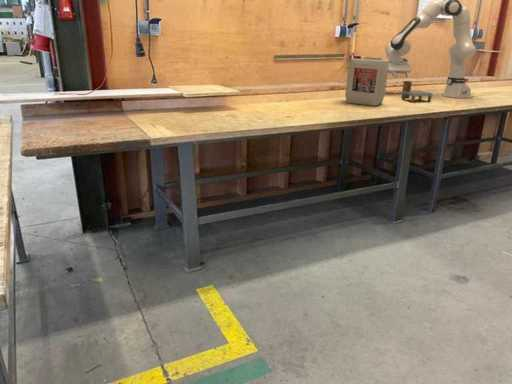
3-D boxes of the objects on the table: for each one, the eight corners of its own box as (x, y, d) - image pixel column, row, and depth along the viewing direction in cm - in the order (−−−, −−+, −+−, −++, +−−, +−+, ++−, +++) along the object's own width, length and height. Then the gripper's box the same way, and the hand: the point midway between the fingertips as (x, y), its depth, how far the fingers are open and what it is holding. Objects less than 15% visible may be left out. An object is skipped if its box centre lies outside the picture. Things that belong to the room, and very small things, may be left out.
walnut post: (405, 97, 310) (408, 80, 305) (409, 98, 306) (412, 81, 302) (401, 97, 309) (403, 80, 304) (404, 98, 305) (407, 81, 301)
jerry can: (342, 103, 279) (347, 56, 267) (350, 99, 294) (355, 54, 283) (378, 107, 269) (385, 58, 257) (384, 103, 284) (391, 57, 273)
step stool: (420, 99, 304) (421, 90, 302) (431, 102, 294) (432, 93, 291) (401, 99, 299) (402, 91, 297) (412, 102, 289) (413, 93, 287)
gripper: (386, 59, 308) (391, 74, 303) (409, 59, 314) (415, 74, 309) (381, 65, 314) (387, 80, 309) (404, 65, 320) (410, 79, 315)
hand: (401, 77), depth 309 cm, fingers open, 8 cm apart
